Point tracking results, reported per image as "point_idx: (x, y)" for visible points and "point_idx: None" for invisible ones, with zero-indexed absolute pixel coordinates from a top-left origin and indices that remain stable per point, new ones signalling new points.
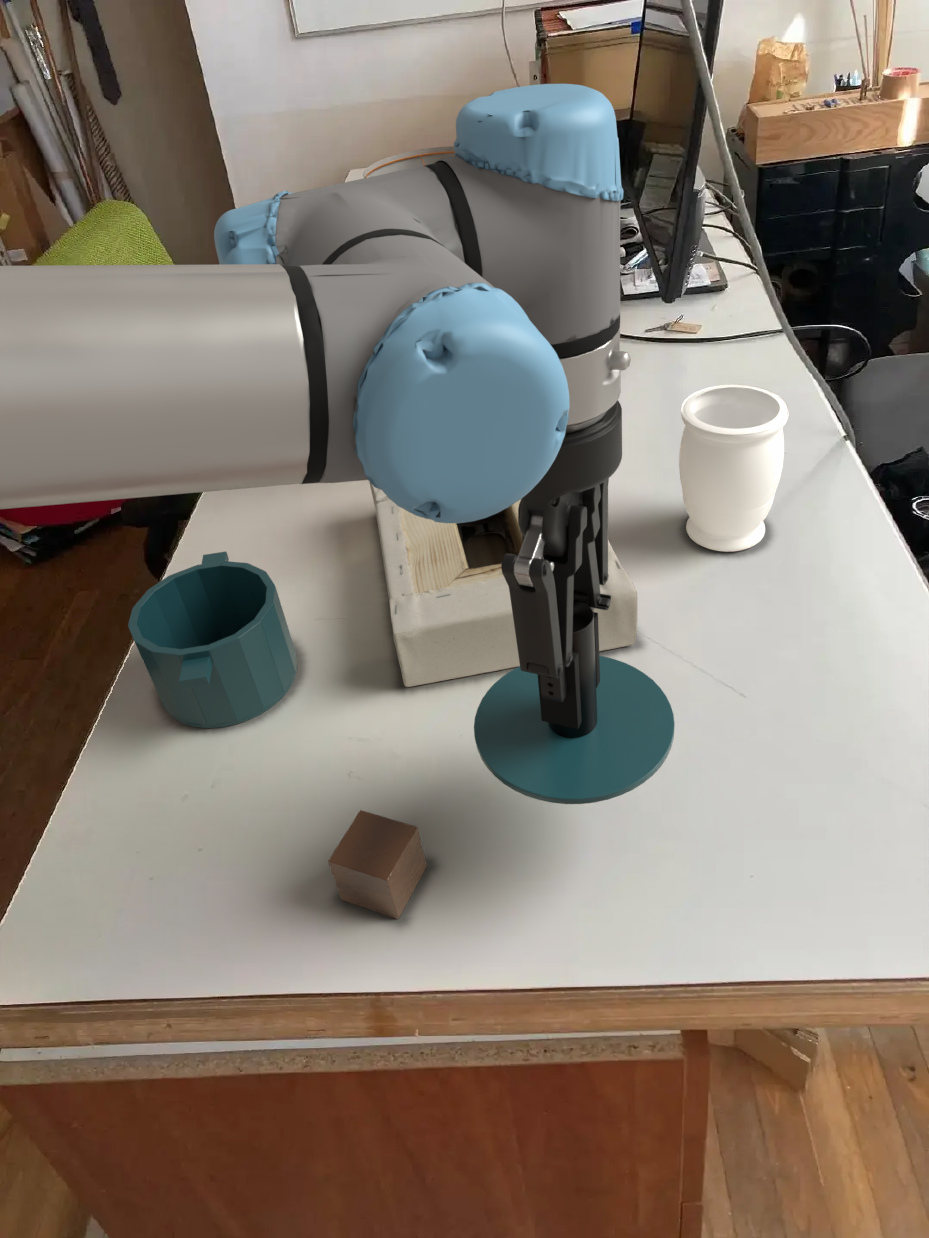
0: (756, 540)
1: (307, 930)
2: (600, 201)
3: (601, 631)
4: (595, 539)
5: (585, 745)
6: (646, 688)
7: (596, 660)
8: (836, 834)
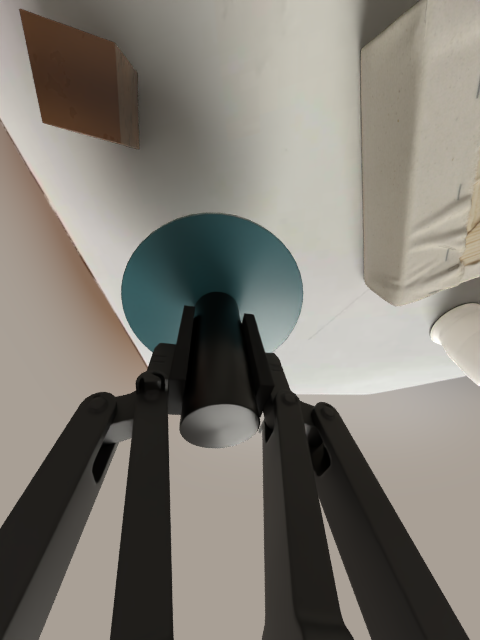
0: (434, 341)
1: (12, 7)
2: None
3: (375, 268)
4: (335, 522)
5: None
6: None
7: None
8: None
